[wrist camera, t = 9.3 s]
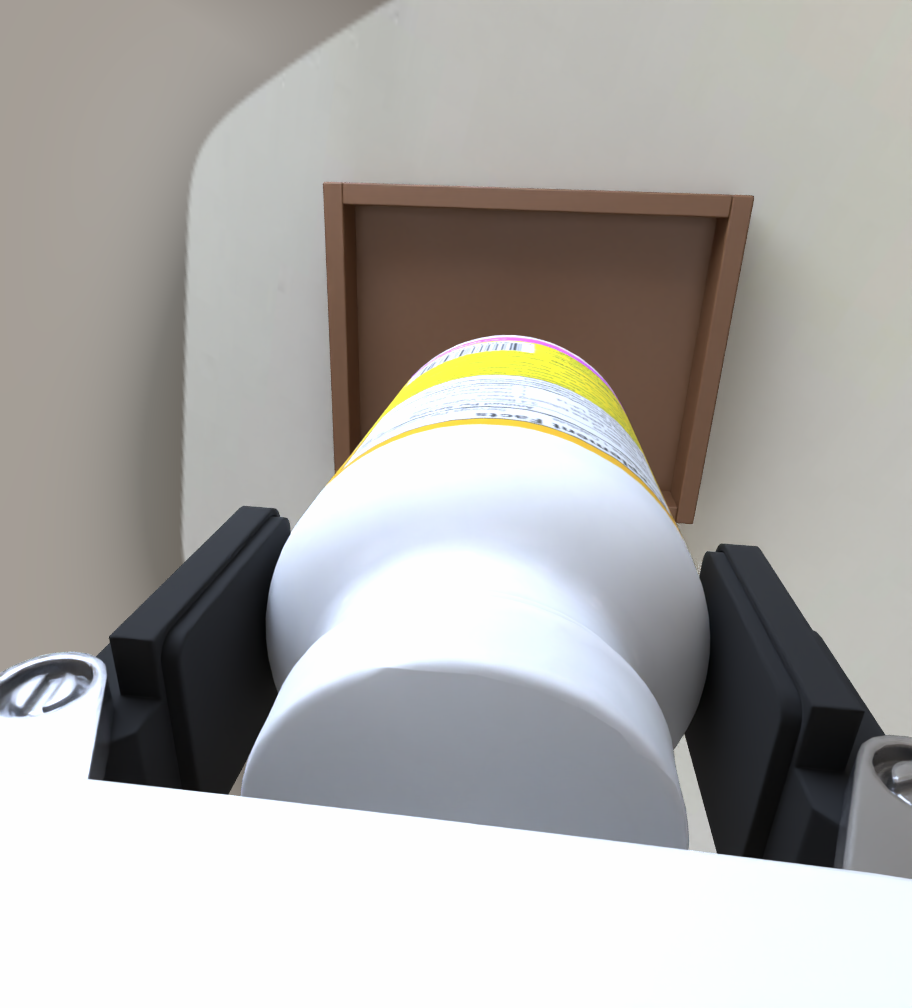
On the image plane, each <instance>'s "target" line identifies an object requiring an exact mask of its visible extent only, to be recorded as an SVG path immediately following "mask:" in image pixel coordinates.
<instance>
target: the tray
mask: <svg viewBox="0 0 912 1008" xmlns="http://www.w3.org/2000/svg"><path fill="white" fill-rule="evenodd" d="M323 195H324V219H325V244H326V268H327V293H328V317H329V342H330V366H331V390H332V415H333V439H334V464H335V474H336V472H337V471H338V470H339V469H340V468H341V466H342V465H343V464H344V463H345V461H346V460H347V459H348V458H349V456H350V455H351V454H352V453H353V451H354V450H355V449H356V447H357V446H358V445H359V444H360V442H361V441H362V440H363V438H364V437H365V436H366V434H367V433H368V432H369V431H370V429H371V428H372V427H373V425H374V424H375V423H376V422H377V420H378V419H379V418H380V416H381V415H382V414H383V413H384V411H385V410H386V409H387V408H388V406H389V405H390V404H391V402H392V401H393V400H394V399H395V397H396V396H397V395H398V394H399V392H400V391H401V390H402V388H403V387H404V386H405V385H406V384H407V382H408V381H409V380H410V379H411V377H412V376H413V375H414V374H415V373H416V372H418V371H419V370H420V369H421V368H422V367H423V366H424V365H425V364H427V363H428V362H429V361H430V360H432V359H433V358H435V357H436V356H438V355H439V354H441V353H443V352H444V351H446V350H448V349H450V348H452V347H454V346H456V345H459V344H461V343H464V342H468V341H471V340H475V339H479V338H483V337H489V336H499V335H516V336H525V337H531V338H536V339H540V340H544V341H547V342H550V343H552V344H555V345H557V346H559V347H562V348H564V349H566V350H568V351H569V352H571V353H573V354H575V355H577V356H579V357H580V358H581V359H582V360H584V361H585V362H586V363H588V364H589V365H590V366H592V367H593V368H594V369H595V370H596V371H597V372H598V373H599V374H600V375H601V376H602V377H603V379H604V380H605V381H606V382H607V383H608V385H609V386H610V387H611V389H612V390H613V392H614V393H615V395H616V397H617V398H618V400H619V402H620V403H621V405H622V407H623V409H624V411H625V413H626V415H627V417H628V420H629V422H630V424H631V426H632V428H633V431H634V433H635V435H636V437H637V440H638V442H639V444H640V446H641V448H642V450H643V453H644V455H645V457H646V459H647V462H648V464H649V466H650V468H651V471H652V473H653V475H654V477H655V479H656V482H657V484H658V486H659V488H660V490H661V492H662V495H663V497H664V499H665V501H666V504H667V506H668V508H669V510H670V512H671V514H672V516H673V519H674V521H675V522H676V523H685V524H693V521H694V516H695V511H696V505H697V500H698V495H699V489H700V484H701V479H702V473H703V468H704V463H705V457H706V452H707V447H708V441H709V436H710V431H711V425H712V420H713V415H714V409H715V404H716V399H717V393H718V388H719V383H720V377H721V372H722V367H723V361H724V356H725V351H726V345H727V340H728V335H729V329H730V324H731V319H732V313H733V308H734V303H735V297H736V292H737V287H738V281H739V276H740V271H741V265H742V260H743V255H744V249H745V244H746V239H747V233H748V228H749V223H750V217H751V212H752V207H753V201H754V196H752V195H722V194H690V193H659V192H628V191H596V190H565V189H534V188H503V187H471V186H440V185H409V184H377V183H346V182H344V183H342V182H324V183H323Z"/></svg>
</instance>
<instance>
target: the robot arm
mask: <svg viewBox="0 0 912 1008" xmlns="http://www.w3.org/2000/svg"><path fill="white" fill-rule="evenodd" d="M290 534H291V531H290V523H289V520H288V519H287V518H284V517H280V515H279V512H278V511H277V509H274V508H263V507H250V506H242V507H241V508H239V509H238V510H237V511H236V512H235V513H234V514H233V515H232V516H231V517H230V518H229V519H228V520H227V521H226V522H225V523H224V524H223V525H222V526H221V527H220V528H219V529H218V530H217V531H216V532H215V533H214V534H213V535H212V536H211V537H210V538H209V539H208V540H207V541H206V542H205V543H204V544H203V545H202V546H201V547H200V548H199V549H198V550H197V551H196V552H195V553H194V554H193V555H192V556H191V557H190V558H189V559H187V560H186V561H185V562H184V563H183V564H182V565H181V566H180V567H179V568H178V569H177V570H176V571H175V572H174V573H173V574H172V575H171V576H170V577H169V578H168V579H167V580H166V581H165V582H164V583H163V584H162V585H161V586H160V587H159V588H158V589H157V590H156V591H155V592H154V593H153V594H152V595H151V596H150V597H149V598H148V599H147V600H146V601H145V602H144V603H143V604H142V605H141V606H140V607H139V608H138V609H137V610H136V611H135V612H134V613H133V614H132V615H131V616H130V617H128V618H127V619H126V620H125V621H124V623H122V624H121V625H120V626H119V627H118V628H117V629H116V630H115V631H114V632H113V633H112V634H111V635H110V636H109V639H110V643H109V644H108V645H107V646H106V647H105V648H104V649H103V650H102V651H101V652H100V653H99V654H98V655H97V656H96V657H95V656H92V655H90V654H87V653H78V652H62V653H52V654H48V655H43V656H39V657H35V658H32V659H29V660H26V661H24V662H21V663H18V664H16V665H14V666H12V667H10V668H8V669H7V670H5V671H3V672H1V673H0V1008H912V738H911V737H907V736H896V735H885V734H884V732H883V731H882V729H881V728H880V726H879V725H878V723H877V721H876V720H875V718H874V717H873V715H872V714H871V712H870V711H869V709H868V708H867V706H866V705H865V703H864V702H863V700H862V699H861V697H860V696H859V694H858V692H857V691H856V689H855V688H854V686H853V685H852V683H851V682H850V680H849V679H848V677H847V676H846V674H845V673H844V671H843V670H842V668H841V667H840V665H839V664H838V662H837V660H836V659H835V657H834V656H833V654H832V653H831V651H830V650H829V648H828V647H827V645H826V644H825V642H824V641H823V639H822V638H821V636H820V635H819V634H818V633H817V632H816V631H813V630H812V629H811V627H810V626H809V624H808V622H807V621H806V619H805V618H804V616H803V615H802V613H801V612H800V610H799V609H798V607H797V605H796V604H795V602H794V601H793V599H792V598H791V596H790V595H789V593H788V592H787V590H786V588H785V587H784V585H783V584H782V582H781V581H780V579H779V578H778V576H777V574H776V573H775V571H774V570H773V568H772V567H771V565H770V564H769V562H768V561H767V559H766V557H765V556H764V554H763V553H762V551H761V550H760V548H758V547H757V546H746V545H733V544H720V545H719V546H718V548H717V550H716V552H710V551H707V552H706V553H705V555H704V558H703V562H702V567H701V572H700V577H699V578H700V581H701V583H702V587H703V591H704V595H705V599H706V604H707V609H708V614H709V627H710V656H709V663H708V671H707V676H706V681H705V684H704V688H703V692H702V695H701V698H700V701H699V705H698V707H697V710H696V712H695V714H694V716H693V718H692V720H691V722H690V724H689V726H688V728H687V730H686V732H685V733H684V734H685V737H686V741H687V745H688V748H689V752H690V756H691V759H692V763H693V767H694V770H695V774H696V778H697V781H698V785H699V789H700V792H701V796H702V800H703V803H704V807H705V811H706V814H707V818H708V822H709V825H710V829H711V833H712V836H713V840H714V844H715V847H716V851H717V854H716V853H708V852H700V851H692V850H684V849H676V848H668V847H660V846H652V845H644V844H636V843H627V842H619V841H611V840H603V839H594V838H586V837H578V836H569V835H561V834H553V833H545V832H536V831H528V830H520V829H512V828H503V827H495V826H487V825H478V824H470V823H462V822H454V821H445V820H437V819H429V818H420V817H412V816H403V815H395V814H386V813H378V812H369V811H360V810H352V809H343V808H335V807H326V806H318V805H309V804H301V803H292V802H284V801H275V800H267V799H258V798H250V797H242V796H233V795H228V794H229V792H230V790H231V788H232V786H233V785H234V783H235V781H236V779H237V777H238V775H239V774H240V772H241V770H242V768H243V766H244V764H245V762H246V760H247V759H248V757H249V755H250V753H251V751H252V749H253V746H254V744H255V742H256V740H257V738H258V736H259V734H260V732H261V730H262V728H263V726H264V724H265V722H266V720H267V718H268V716H269V713H270V711H271V709H272V707H273V705H274V702H275V700H276V698H277V696H278V691H277V688H276V686H275V683H274V679H273V675H272V671H271V667H270V663H269V658H268V651H267V643H266V610H267V602H268V595H269V589H270V584H271V580H272V577H273V574H274V570H275V567H276V564H277V562H278V559H279V557H280V554H281V552H282V549H283V547H284V545H285V543H286V542H287V540H288V538H289V536H290Z"/></svg>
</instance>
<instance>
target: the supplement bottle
mask: <svg viewBox="0 0 912 1008" xmlns="http://www.w3.org/2000/svg"><path fill="white" fill-rule="evenodd" d="M266 643H267V651H268V658H269V663H270V667H271V671H272V675H273V679H274V683H275V686H276V688H277V691H278V696H277V698H276V700H275V702H274V705H273V707H272V709H271V711H270V713H269V716H268V718H267V720H266V722H265V724H264V726H263V728H262V730H261V732H260V734H259V736H258V738H257V740H256V742H255V744H254V746H253V749H252V751H251V753H250V755H249V757H248V761H247V765H246V769H245V772H244V776H243V780H242V787H241V796H242V797H250V798H258V799H267V800H275V801H284V802H292V803H301V804H309V805H318V806H326V807H335V808H343V809H352V810H360V811H369V812H378V813H386V814H395V815H403V816H412V817H420V818H429V819H437V820H445V821H454V822H462V823H470V824H478V825H487V826H495V827H503V828H512V829H520V830H528V831H536V832H545V833H553V834H561V835H569V836H578V837H586V838H594V839H603V840H611V841H619V842H627V843H636V844H644V845H652V846H660V847H668V848H676V849H684V850H688V848H689V833H688V821H687V814H686V807H685V803H684V800H683V796H682V792H681V788H680V784H679V779H678V775H677V770H676V765H675V760H674V751H673V750H674V749H675V747H676V746H677V744H678V743H679V741H680V739H681V738H682V736H683V735H684V733H685V732H686V730H687V728H688V726H689V724H690V722H691V720H692V718H693V716H694V714H695V712H696V710H697V707H698V705H699V701H700V698H701V695H702V692H703V688H704V684H705V681H706V676H707V671H708V663H709V656H710V627H709V614H708V609H707V604H706V599H705V595H704V591H703V587H702V583H701V581H700V578H699V575H698V573H697V570H696V568H695V565H694V562H693V560H692V558H691V555H690V553H689V551H688V548H687V546H686V543H685V541H684V539H683V537H682V535H681V533H680V531H679V529H678V527H677V525H676V523H675V521H674V519H673V516H672V514H671V512H670V510H669V508H668V506H667V504H666V501H665V499H664V497H663V495H662V492H661V490H660V488H659V486H658V484H657V482H656V479H655V477H654V475H653V473H652V471H651V468H650V466H649V464H648V462H647V459H646V457H645V455H644V453H643V450H642V448H641V446H640V444H639V442H638V440H637V437H636V435H635V433H634V431H633V428H632V426H631V424H630V422H629V420H628V417H627V415H626V413H625V411H624V409H623V407H622V405H621V403H620V402H619V400H618V398H617V397H616V395H615V393H614V392H613V390H612V389H611V387H610V386H609V385H608V383H607V382H606V381H605V380H604V379H603V377H602V376H601V375H600V374H599V373H598V372H597V371H596V370H595V369H594V368H593V367H592V366H590V365H589V364H588V363H586V362H585V361H584V360H582V359H581V358H580V357H579V356H577V355H575V354H573V353H571V352H569V351H568V350H566V349H564V348H562V347H559V346H557V345H555V344H552V343H550V342H547V341H544V340H540V339H536V338H531V337H525V336H516V335H499V336H489V337H483V338H479V339H475V340H471V341H468V342H464V343H461V344H459V345H456V346H454V347H452V348H450V349H448V350H446V351H444V352H443V353H441V354H439V355H438V356H436V357H435V358H433V359H432V360H430V361H429V362H428V363H427V364H425V365H424V366H423V367H422V368H421V369H420V370H419V371H418V372H416V373H415V374H414V375H413V376H412V377H411V379H410V380H409V381H408V382H407V384H406V385H405V386H404V387H403V388H402V390H401V391H400V392H399V394H398V395H397V396H396V397H395V399H394V400H393V401H392V402H391V404H390V405H389V406H388V408H387V409H386V410H385V411H384V413H383V414H382V415H381V416H380V418H379V419H378V420H377V422H376V423H375V424H374V425H373V427H372V428H371V429H370V431H369V432H368V433H367V434H366V436H365V437H364V438H363V440H362V441H361V442H360V444H359V445H358V446H357V447H356V449H355V450H354V451H353V453H352V454H351V455H350V456H349V458H348V459H347V460H346V461H345V463H344V464H343V465H342V466H341V468H340V469H339V470H338V471H337V472H336V474H335V475H334V476H333V477H332V479H331V480H330V481H329V482H328V484H327V485H326V486H325V488H324V489H323V490H322V491H321V493H320V494H319V495H318V497H317V498H316V499H315V501H314V502H313V503H312V504H311V506H310V507H309V508H308V510H307V511H306V512H305V513H304V515H303V516H302V517H301V518H300V520H299V522H298V523H297V525H296V526H295V528H294V529H293V531H292V533H291V534H290V536H289V538H288V540H287V542H286V543H285V545H284V547H283V549H282V552H281V554H280V557H279V559H278V562H277V564H276V567H275V570H274V574H273V577H272V580H271V584H270V589H269V595H268V602H267V610H266Z"/></svg>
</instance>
